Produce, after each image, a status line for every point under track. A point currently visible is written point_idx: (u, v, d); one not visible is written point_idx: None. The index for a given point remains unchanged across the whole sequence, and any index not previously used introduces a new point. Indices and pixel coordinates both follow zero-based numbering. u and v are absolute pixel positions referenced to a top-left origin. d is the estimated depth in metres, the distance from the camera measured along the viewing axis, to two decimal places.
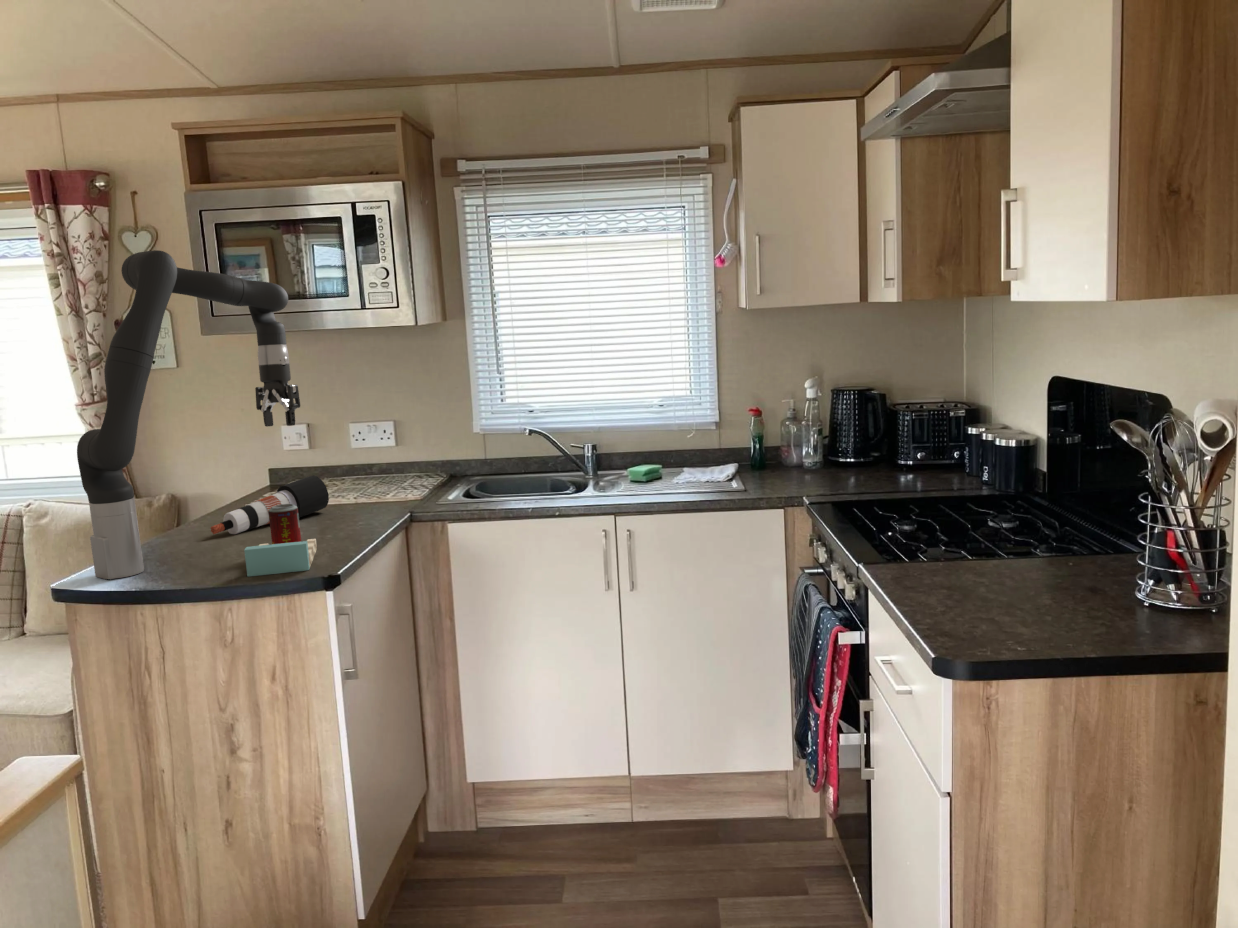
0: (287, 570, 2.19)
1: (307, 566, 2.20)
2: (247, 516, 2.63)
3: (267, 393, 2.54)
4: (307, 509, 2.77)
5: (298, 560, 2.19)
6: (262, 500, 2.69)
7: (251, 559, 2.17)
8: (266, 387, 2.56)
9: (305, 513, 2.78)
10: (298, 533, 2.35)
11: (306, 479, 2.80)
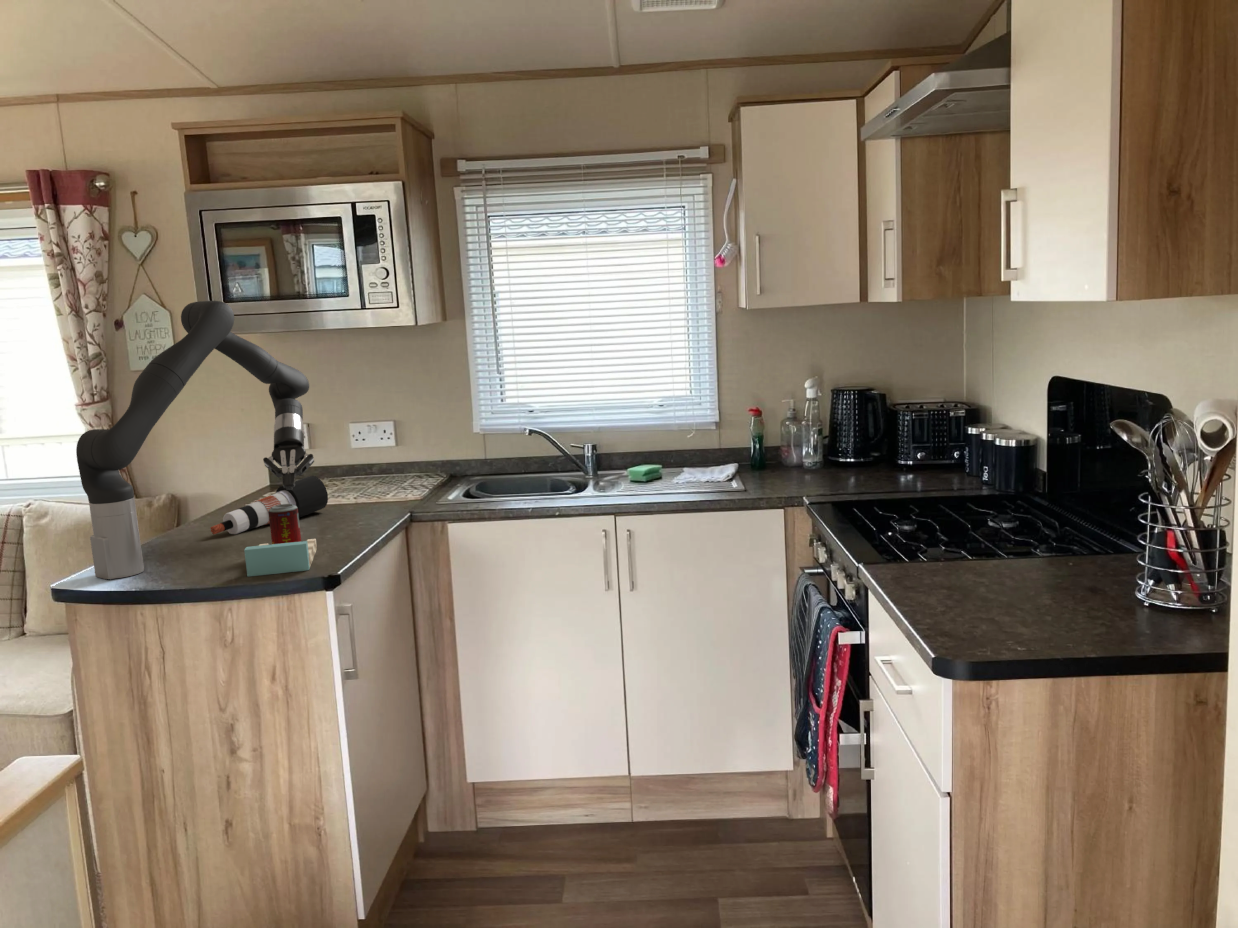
0: (287, 570, 2.19)
1: (307, 566, 2.20)
2: (247, 516, 2.63)
3: (283, 452, 2.54)
4: (306, 509, 2.77)
5: (298, 560, 2.19)
6: (262, 500, 2.69)
7: (251, 559, 2.17)
8: (276, 450, 2.56)
9: (304, 513, 2.78)
10: (298, 533, 2.35)
11: (305, 479, 2.81)
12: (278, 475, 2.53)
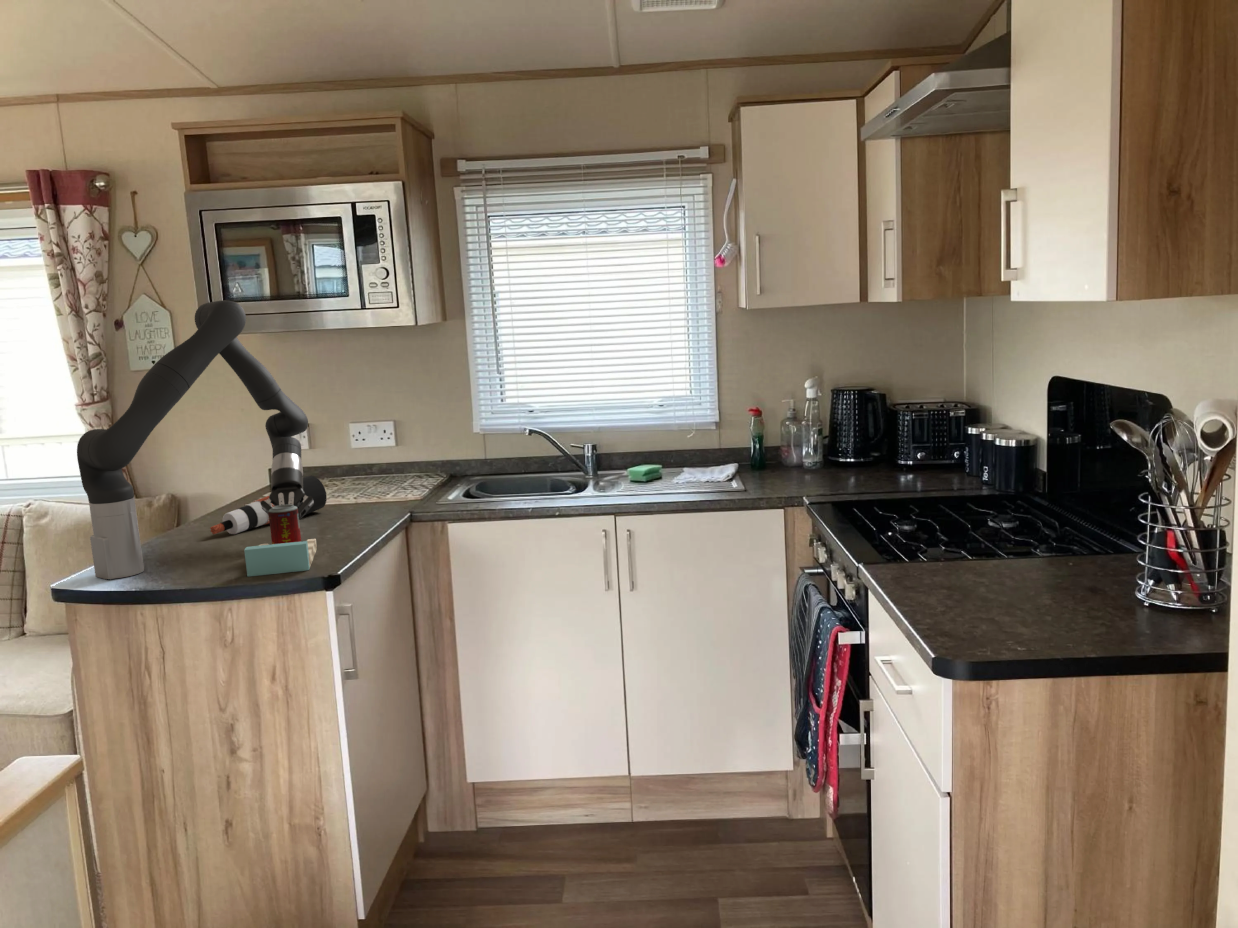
0: (287, 570, 2.19)
1: (307, 566, 2.20)
2: (247, 516, 2.63)
3: (281, 495, 2.43)
4: None
5: (298, 560, 2.19)
6: (261, 500, 2.69)
7: (251, 559, 2.17)
8: (274, 492, 2.44)
9: None
10: (298, 533, 2.35)
11: (304, 479, 2.81)
12: None
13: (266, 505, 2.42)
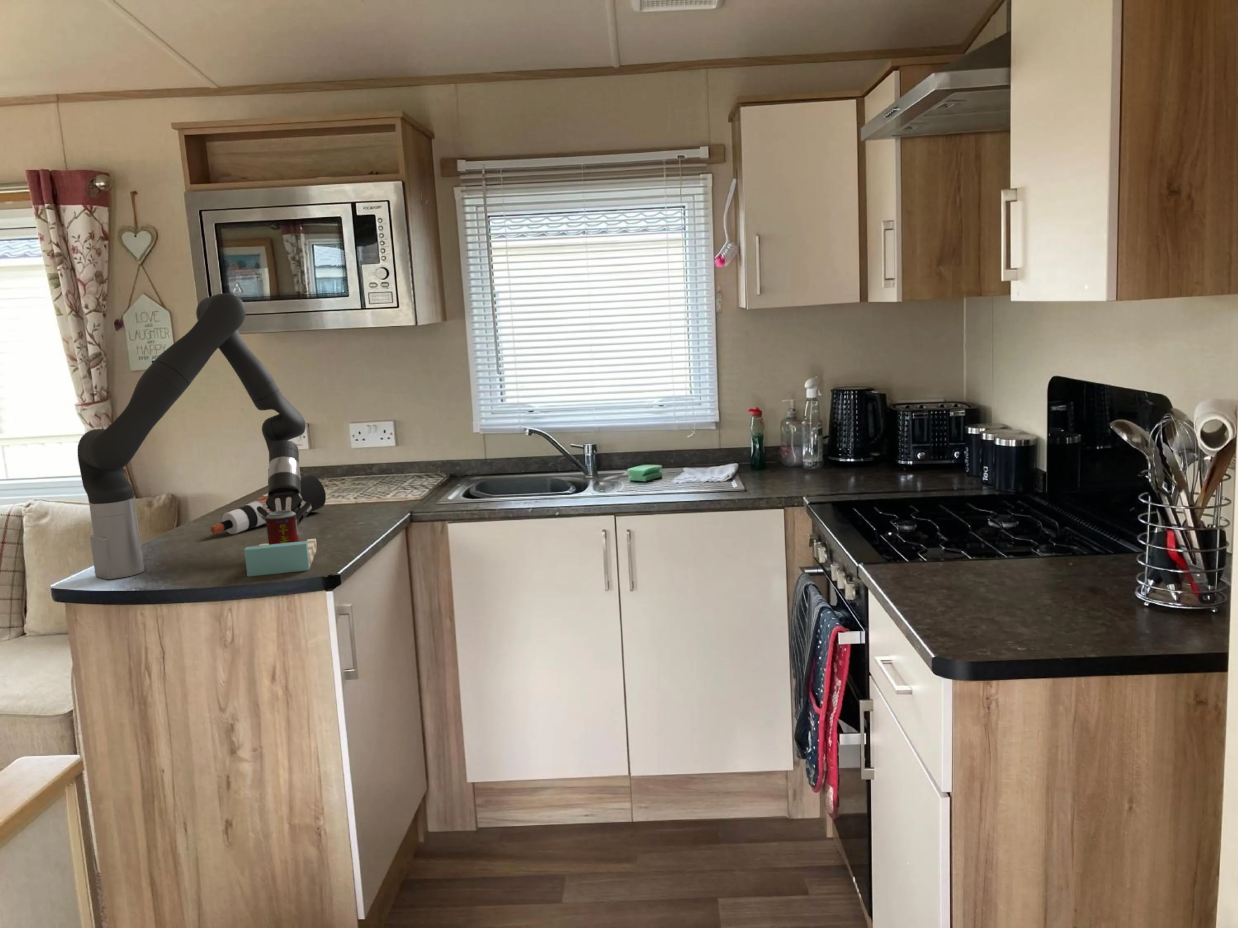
0: (287, 570, 2.19)
1: (307, 566, 2.20)
2: (246, 516, 2.63)
3: (278, 501, 2.36)
4: None
5: (298, 560, 2.19)
6: (261, 500, 2.69)
7: (251, 559, 2.17)
8: (270, 497, 2.37)
9: None
10: (297, 540, 2.28)
11: (303, 479, 2.81)
12: None
13: (262, 511, 2.34)
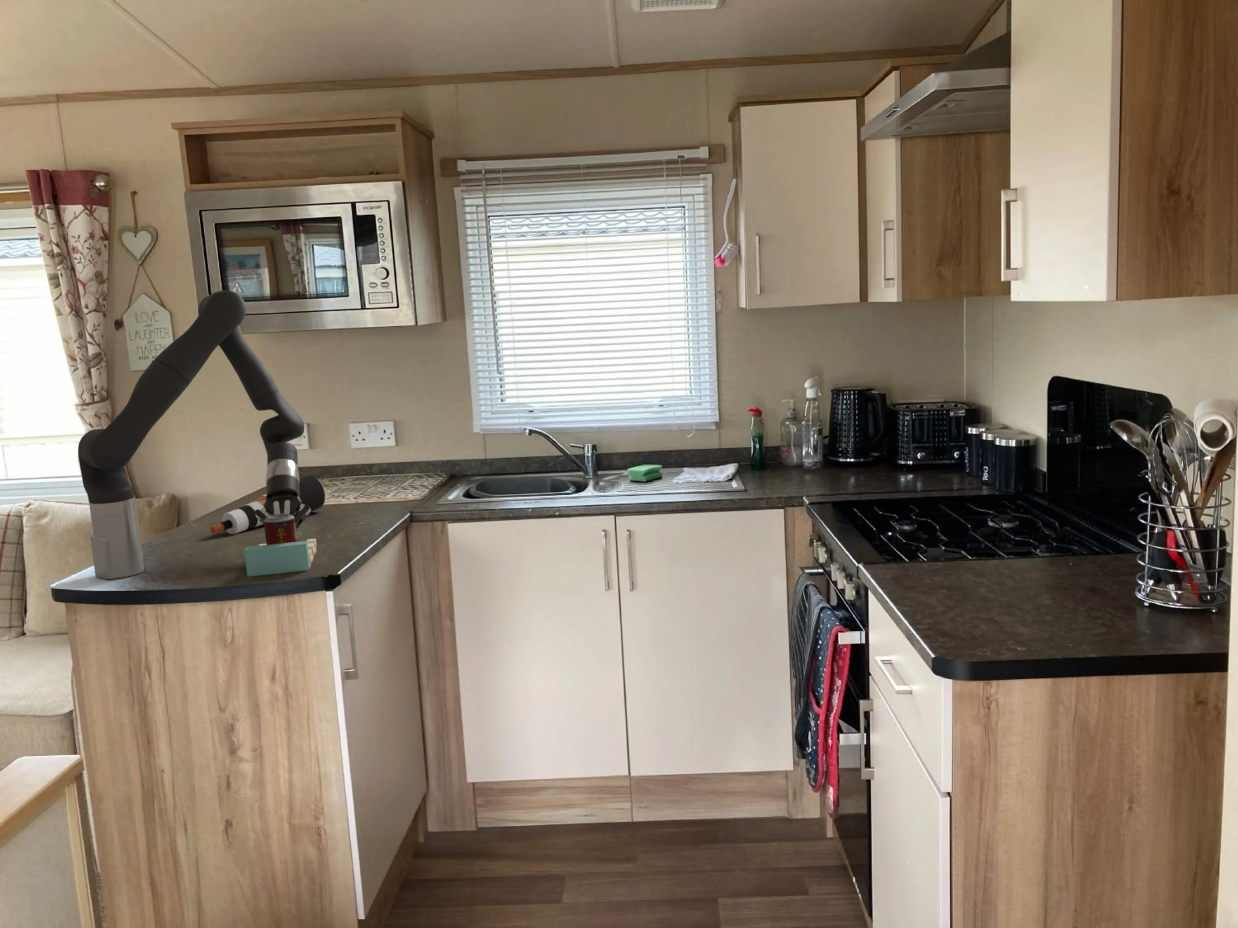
0: (287, 570, 2.19)
1: (307, 566, 2.20)
2: (246, 516, 2.63)
3: (277, 504, 2.32)
4: None
5: (298, 560, 2.19)
6: (260, 500, 2.69)
7: (251, 559, 2.17)
8: (269, 500, 2.33)
9: None
10: None
11: (302, 479, 2.81)
12: None
13: (261, 514, 2.30)
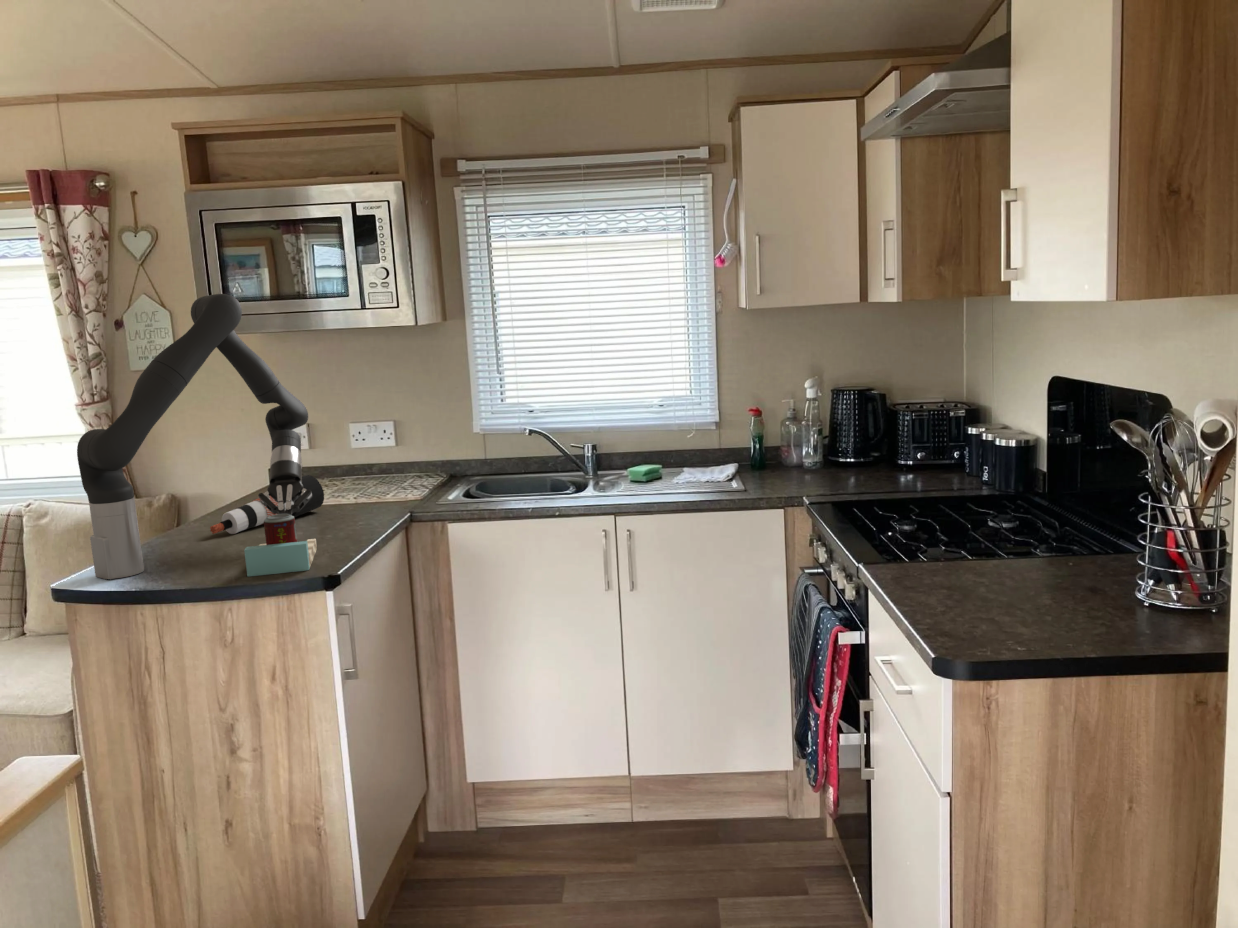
0: (287, 570, 2.19)
1: (307, 566, 2.20)
2: (246, 515, 2.64)
3: (280, 488, 2.41)
4: (303, 508, 2.78)
5: (298, 560, 2.19)
6: None
7: (251, 559, 2.17)
8: (272, 485, 2.42)
9: (301, 512, 2.79)
10: None
11: None
12: (274, 512, 2.39)
13: (264, 497, 2.40)
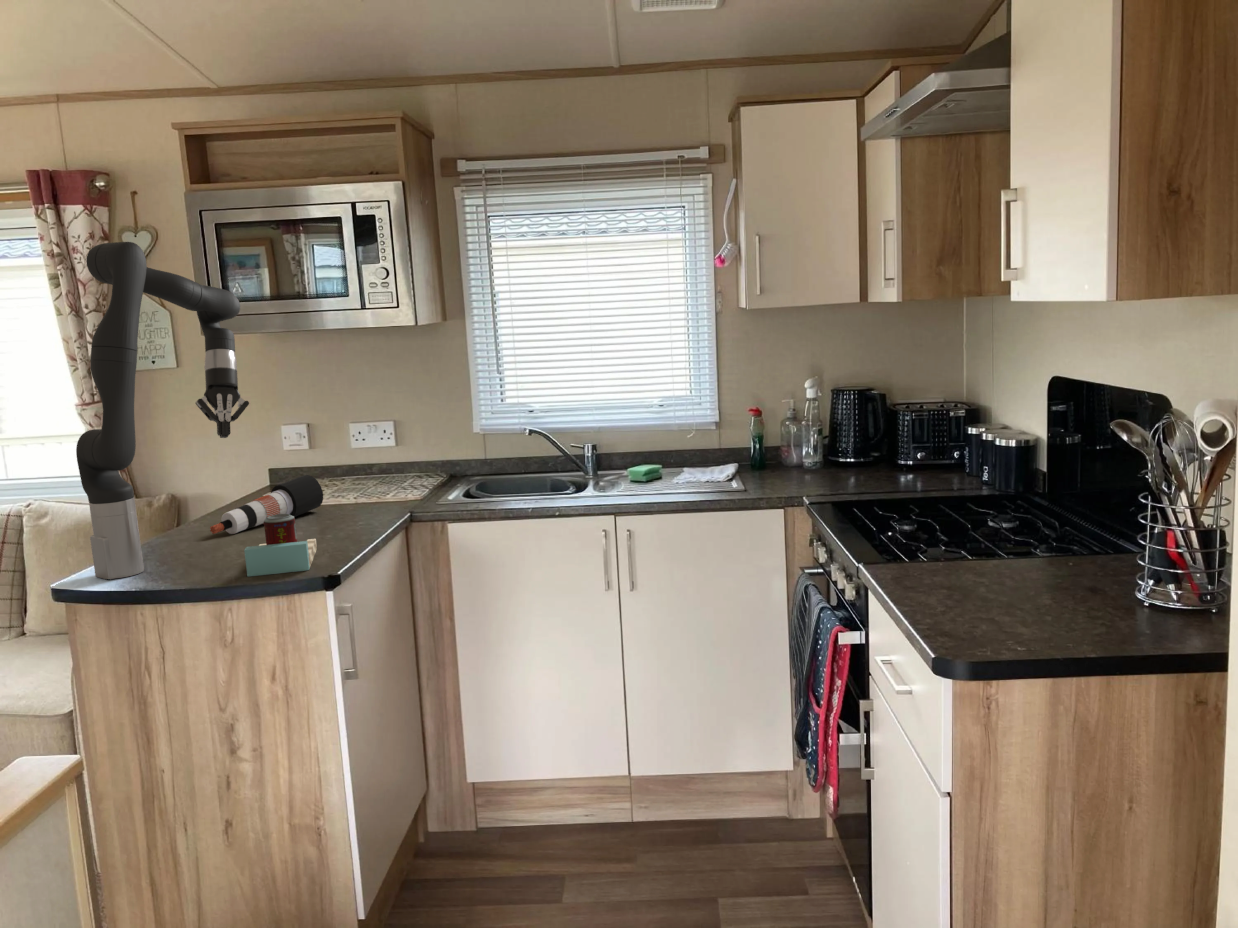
0: (287, 570, 2.19)
1: (307, 566, 2.20)
2: (246, 515, 2.64)
3: (220, 397, 2.46)
4: (302, 508, 2.78)
5: (298, 560, 2.19)
6: (259, 499, 2.70)
7: (251, 559, 2.17)
8: (210, 390, 2.46)
9: (301, 512, 2.79)
10: None
11: (300, 478, 2.82)
12: (212, 420, 2.46)
13: (204, 404, 2.44)
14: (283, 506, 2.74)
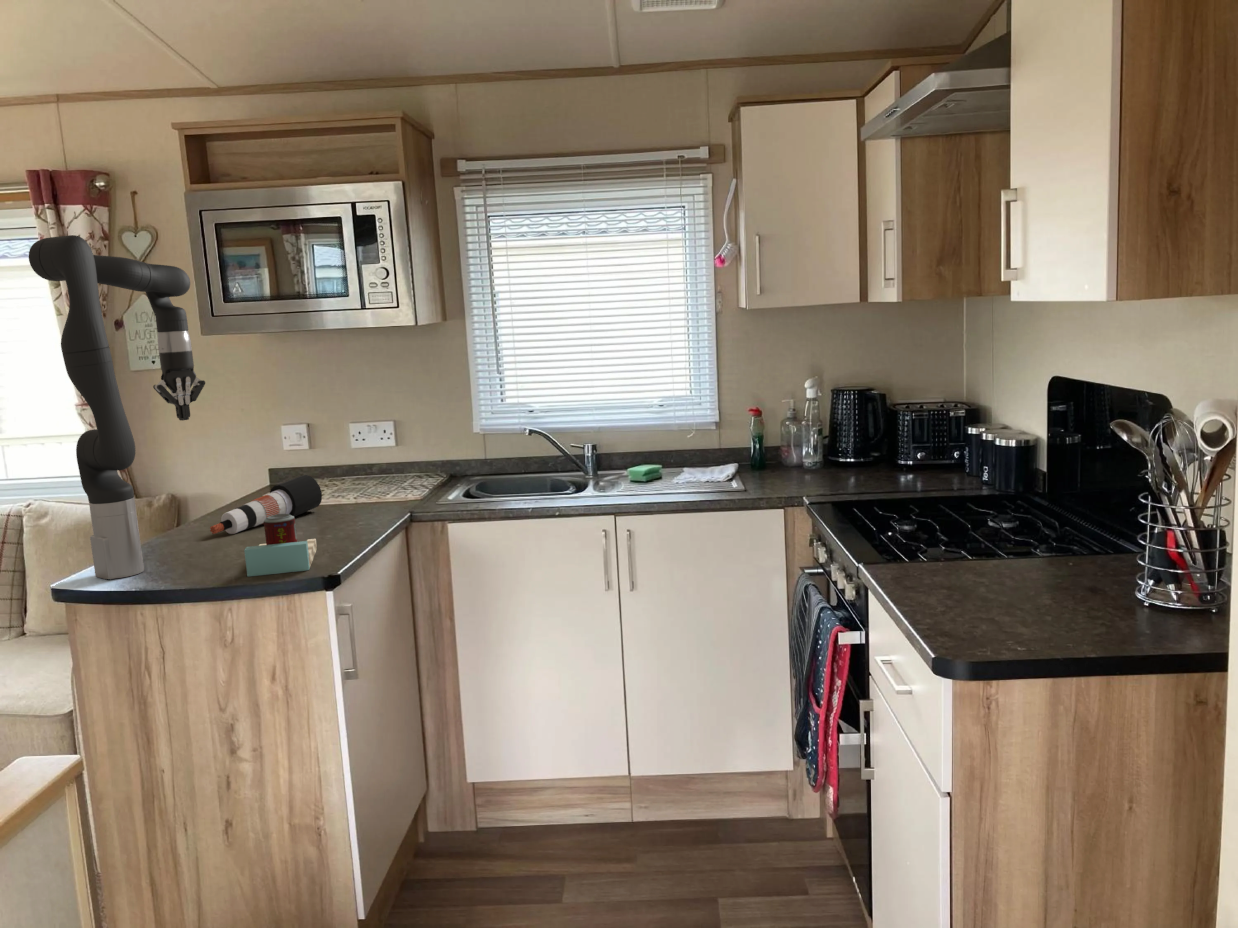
0: (287, 570, 2.19)
1: (307, 566, 2.20)
2: (246, 515, 2.64)
3: (179, 381, 2.43)
4: (301, 508, 2.79)
5: (298, 560, 2.19)
6: (259, 500, 2.70)
7: (251, 559, 2.17)
8: (169, 374, 2.42)
9: (299, 512, 2.79)
10: None
11: (299, 478, 2.82)
12: (171, 403, 2.44)
13: (164, 390, 2.41)
14: (282, 506, 2.74)
